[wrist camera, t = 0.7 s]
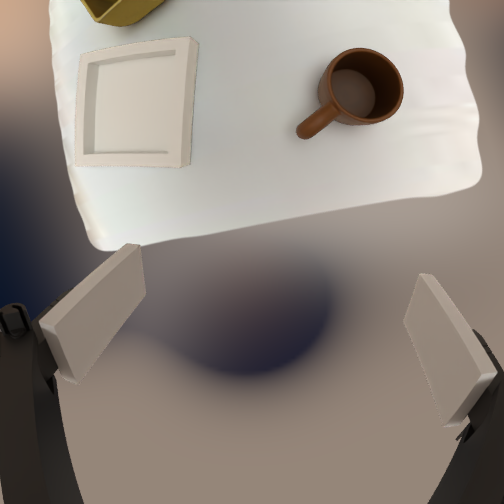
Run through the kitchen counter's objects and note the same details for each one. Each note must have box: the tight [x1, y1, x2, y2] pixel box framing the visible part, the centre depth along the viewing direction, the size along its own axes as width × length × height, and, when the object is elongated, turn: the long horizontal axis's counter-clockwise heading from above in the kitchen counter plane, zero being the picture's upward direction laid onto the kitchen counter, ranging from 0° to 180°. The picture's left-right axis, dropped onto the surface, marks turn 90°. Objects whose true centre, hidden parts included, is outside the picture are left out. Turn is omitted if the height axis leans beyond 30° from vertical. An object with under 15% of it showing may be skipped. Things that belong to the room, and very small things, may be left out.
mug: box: [296, 48, 404, 140], centre depth 27 cm, size 12×8×9 cm, turn 132°
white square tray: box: [75, 37, 199, 168], centre depth 33 cm, size 16×16×4 cm
